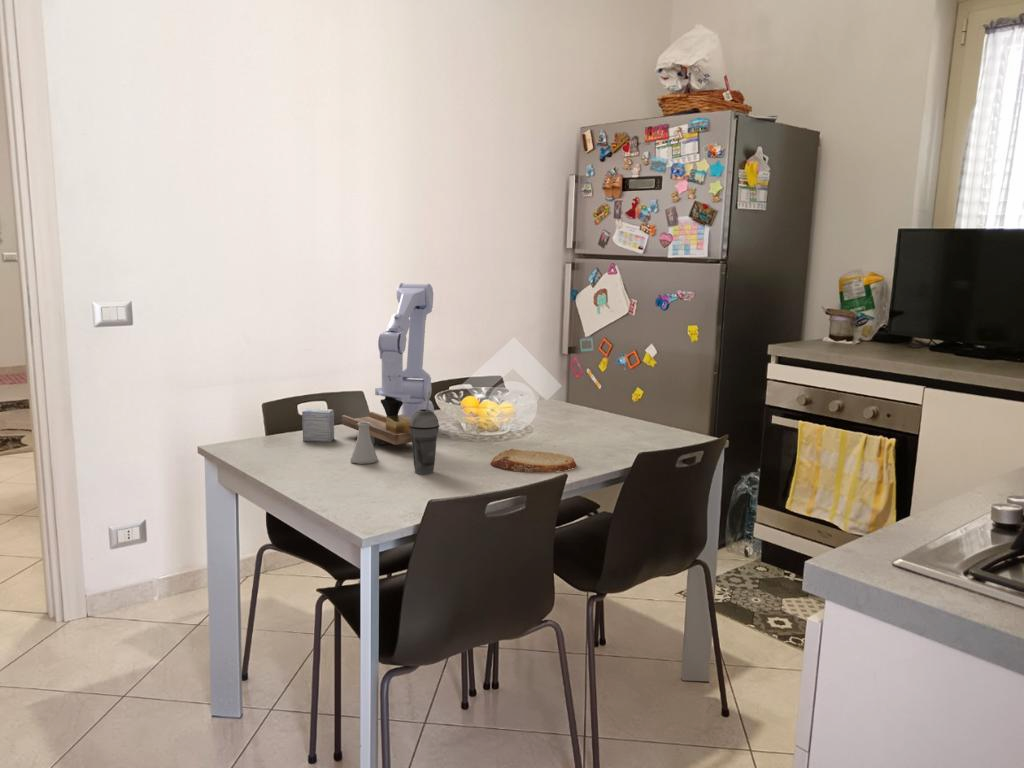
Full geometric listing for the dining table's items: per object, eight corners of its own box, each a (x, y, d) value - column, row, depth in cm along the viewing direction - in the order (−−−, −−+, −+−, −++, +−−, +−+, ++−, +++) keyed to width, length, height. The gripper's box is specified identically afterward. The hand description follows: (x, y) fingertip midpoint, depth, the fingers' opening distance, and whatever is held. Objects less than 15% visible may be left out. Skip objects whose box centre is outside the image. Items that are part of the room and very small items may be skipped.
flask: (347, 464, 202) (346, 425, 200) (353, 457, 209) (352, 419, 207) (375, 465, 202) (375, 426, 200) (380, 458, 209) (380, 420, 207)
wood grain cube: (401, 428, 223) (402, 414, 222) (410, 433, 220) (412, 419, 219) (385, 430, 220) (386, 416, 219) (395, 436, 217) (396, 422, 216)
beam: (371, 420, 239) (371, 411, 239) (426, 439, 219) (426, 430, 218) (341, 424, 233) (341, 415, 232) (395, 444, 212) (395, 435, 212)
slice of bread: (582, 468, 204) (583, 453, 203) (531, 480, 192) (531, 465, 191) (534, 454, 217) (534, 441, 217) (483, 465, 205) (483, 451, 205)
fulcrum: (394, 440, 229) (394, 430, 229) (398, 441, 228) (398, 431, 227) (370, 444, 224) (370, 434, 223) (374, 445, 222) (374, 435, 222)
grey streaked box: (334, 439, 229) (334, 409, 228) (329, 442, 225) (329, 412, 224) (307, 437, 230) (307, 408, 229) (302, 441, 226) (301, 411, 224)
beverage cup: (409, 468, 199) (409, 388, 196) (439, 468, 200) (439, 389, 197) (408, 476, 192) (408, 394, 189) (439, 475, 193) (439, 394, 190)
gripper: (365, 373, 222) (365, 421, 224) (394, 380, 212) (394, 430, 214) (387, 371, 227) (387, 418, 229) (416, 378, 216) (416, 427, 218)
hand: (392, 424), depth 222 cm, fingers closed, pressing on wood grain cube
